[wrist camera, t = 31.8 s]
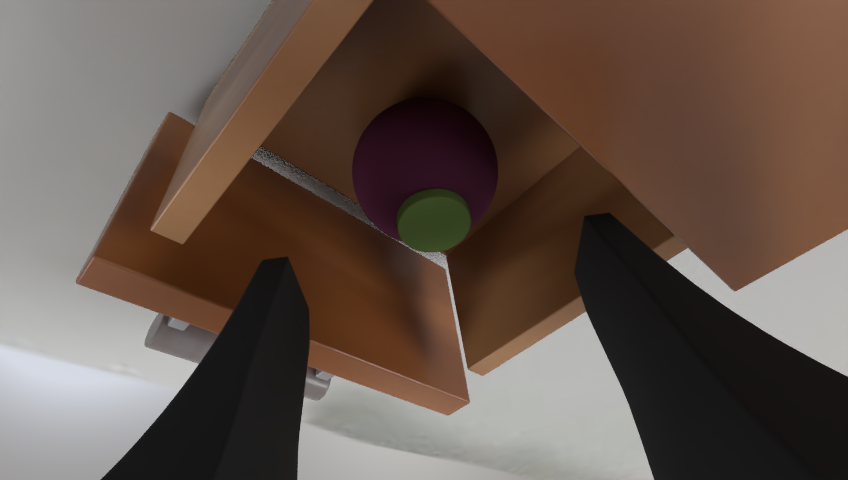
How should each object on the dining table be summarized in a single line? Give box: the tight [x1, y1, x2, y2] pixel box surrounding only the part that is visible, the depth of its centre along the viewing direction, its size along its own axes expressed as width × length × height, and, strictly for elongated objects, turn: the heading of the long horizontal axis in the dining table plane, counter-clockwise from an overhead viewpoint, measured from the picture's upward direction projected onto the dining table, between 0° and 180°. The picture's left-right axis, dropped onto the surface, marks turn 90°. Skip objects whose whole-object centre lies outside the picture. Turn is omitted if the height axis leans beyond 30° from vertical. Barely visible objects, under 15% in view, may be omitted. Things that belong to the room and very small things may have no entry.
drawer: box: [76, 0, 688, 415], centre depth 16 cm, size 17×13×7 cm
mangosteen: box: [352, 97, 498, 252], centre depth 15 cm, size 4×4×5 cm
